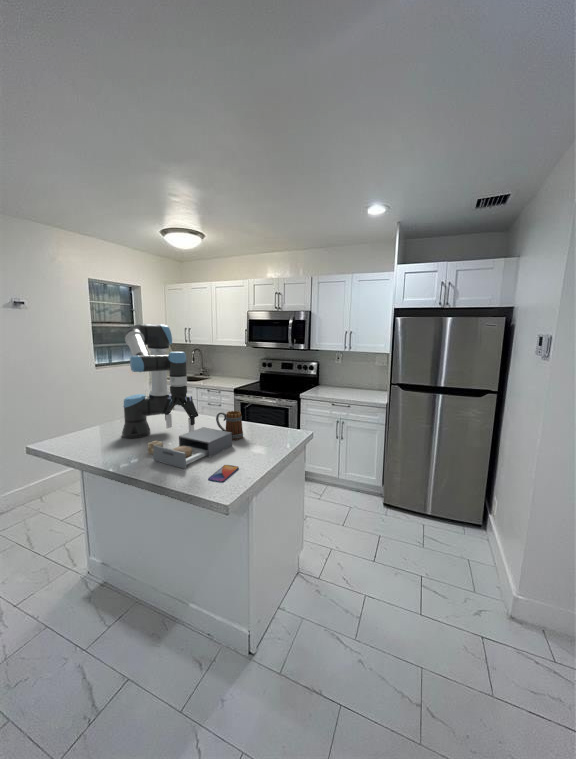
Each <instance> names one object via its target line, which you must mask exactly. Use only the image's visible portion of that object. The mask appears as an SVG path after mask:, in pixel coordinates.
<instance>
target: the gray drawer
mask: <svg viewBox="0 0 576 759" xmlns="http://www.w3.org/2000/svg"><path fill="white" fill-rule="evenodd" d="M182 446H186V445H181V446H176V447H173V448H167V447H164V446H163V447H160V446H156V445H154V446H153V453H154V454H153V461H156V462H160V463H163V464H167V465H170V466H173V467H177V468H181V469H186V468H187V465H189V464H191V463H192V462H193V463H194V462H196V461H197V460H200V459H201V458H204V457H206V455H208V451H207V450H203V449H199V448H194V447H191V448H192V456H191V457H188V458H186V453H184V452H180V451H176V450H172V449H174V448H177V447H182ZM187 447H190V446H187Z"/></svg>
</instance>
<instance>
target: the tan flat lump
mask: <svg viewBox="0 0 576 759" xmlns="http://www.w3.org/2000/svg"><path fill="white" fill-rule="evenodd" d="M176 447H177V448H176ZM176 447H173V448H174V449H173V448H171V449H172V450H176V451H180V452H184V453H186V458H188V457H191V456H192V448H191V447H187V446H182V447H178V446H176Z"/></svg>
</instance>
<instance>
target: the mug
mask: <svg viewBox="0 0 576 759" xmlns="http://www.w3.org/2000/svg"><path fill="white" fill-rule="evenodd" d="M220 415H223V416H224V418H223V422H225V428H224V427H223V426H222V425H221V423H220V420H219V418H220V417H219V416H220ZM215 419H216V420H215V422H216V426H218V428H219V430H221V431H226V432H232V441H239V440H241V439H243V437H244V430H243V420H242V419H243V416H242V412H241V411H239V410H238V411H237V410H230V411H226V412H223V411H221V412H218V413H217V414H216V416H215Z"/></svg>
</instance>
